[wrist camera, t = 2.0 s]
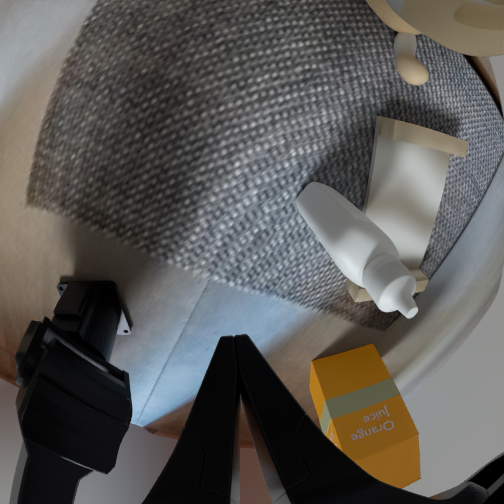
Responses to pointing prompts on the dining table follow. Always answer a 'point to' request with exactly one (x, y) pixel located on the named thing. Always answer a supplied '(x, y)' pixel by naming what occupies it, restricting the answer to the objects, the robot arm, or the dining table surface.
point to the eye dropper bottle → (359, 248)
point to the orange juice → (366, 414)
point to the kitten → (441, 29)
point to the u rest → (406, 189)
